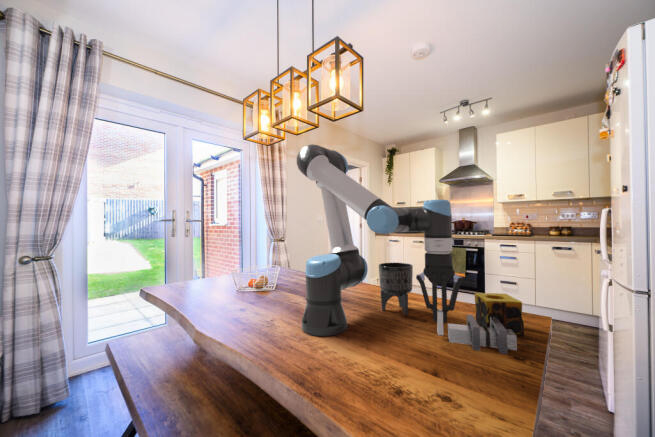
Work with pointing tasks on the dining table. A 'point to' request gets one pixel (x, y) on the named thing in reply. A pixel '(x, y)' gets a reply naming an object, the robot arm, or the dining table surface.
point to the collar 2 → (500, 335)
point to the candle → (499, 311)
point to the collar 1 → (474, 332)
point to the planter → (395, 283)
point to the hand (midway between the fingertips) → (440, 333)
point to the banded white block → (487, 336)
